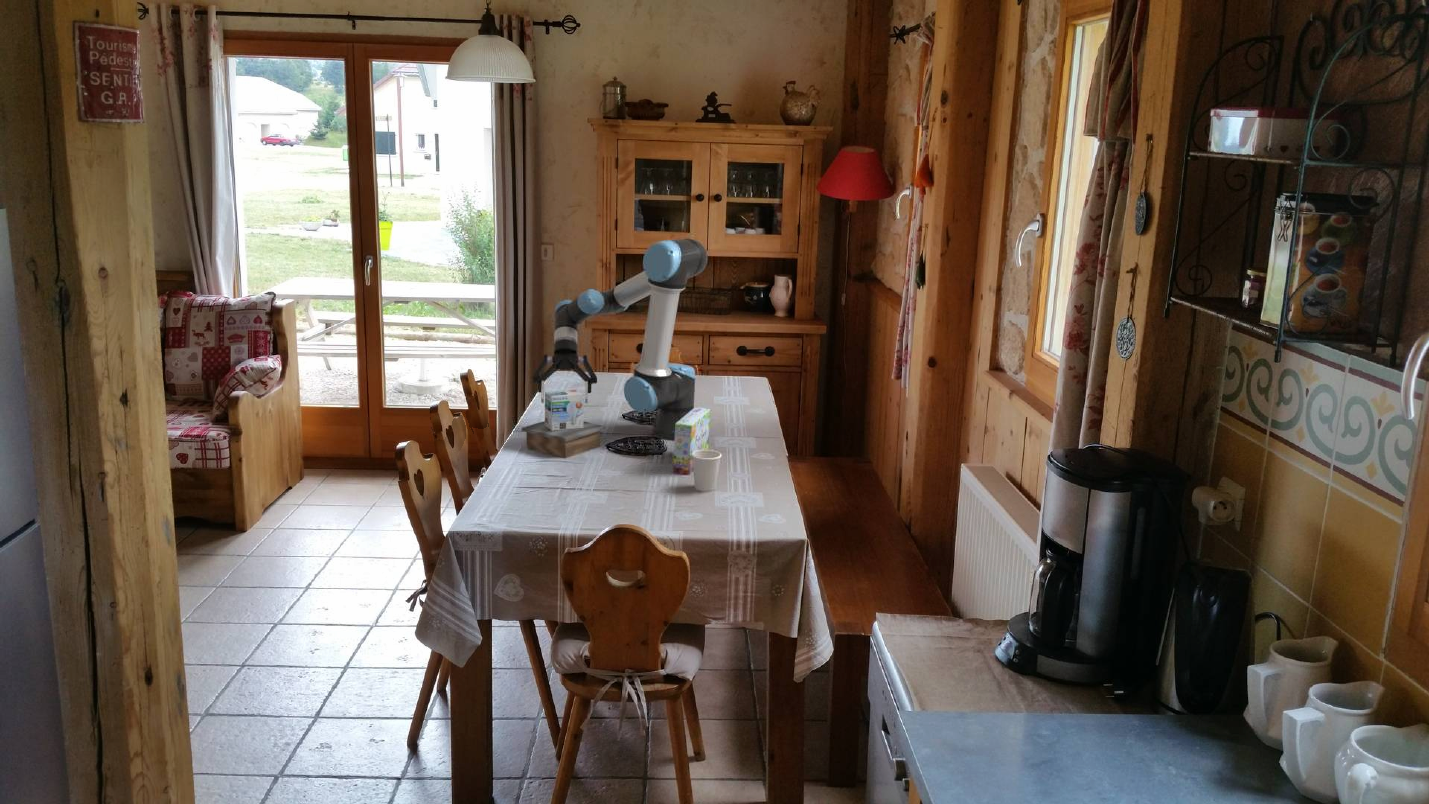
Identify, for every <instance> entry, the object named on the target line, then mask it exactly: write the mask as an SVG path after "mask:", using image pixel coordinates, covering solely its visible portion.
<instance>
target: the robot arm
mask: <svg viewBox="0 0 1429 804" xmlns="http://www.w3.org/2000/svg"><path fill="white" fill-rule="evenodd" d="M643 255H644V256H643V258H642V259H643V260H642V267H643V271H641V272H640V273H638V274H636V275H634V276H632V277H631V278H628V279H626V280H625V281H623V282H621V283H620V284H617V286H614V287H612V288H610V289H608V290H604V291H599V290H595V289H594V288H589V289H587V290H585V291H583V292H582V293H580V294H579V295H578V296H577V297H576V298H575V299H573V300H571V299H564V300H563V301H562V300H560V301H558V302H557V304H556V305H555V307H554V309H555V311H554V333H553V334H554V335H553V343H554V344H553V355H552V356H548V354H544V355H543V358H542V361H541V362H540V365H539V366H538V368H537V369H536V371H535V372H534V374H533V375H532V383H533V384H537V393H541V394H540V401H541V403H542V404H545V382H546V381H547V380H548V379H549V378H550V377H551V376H552V375H553V374H554V373H556V372H557V371H559V370H560V371H571V370H572V371H573V372H574V373H576V374H577V375H578V377H580V378H581V379H582V380H583V381H584V383H585V385H584V386H585V387H584V389H585V390H584V392H585V393H584V396H585V397H584V404H588V398H589V397H588V396H589V394H591V393H592V385H593V384H597V383H598V377H597V375H596V373H595V372H594V370H593V368H592V367H591V366H592V365H590V363H589V360H588V357H587V355H586V354H585V355H583V356H578V341H579V340H578V337H579V336H578V332H579V331H578V330H579V325H581V324H582V323H584V322H585V321H587V320H589V318H591V317H599V316H604V315H609V314H619V313H621V312H625V311H626V310H627V309H628V308H629V307H630V305H633V304H634V303H636V302H638V301H640V300H642V299H644V298H646V297H648V296H650V299H649V303H648V310H647V316H646V324H645V329H644V330H645V331H644V337H643V344H642V350H641V357H640V361H639V362H638V363H636V364H635V365H634V369H633V374H632V375H633V376H631V377H629V378H628V379H626V381H625V383H624V385H623V394H624V398H625V401H626V402H627V403H628V405H629V407H630V408H631V409H632V410H634V411H635V412H638V413H642V414H643V413H651V412H654V411H655V410H656V411H657V413H656V416H655V417H654V420H653V421H654V422H653V425H652V427H651V428H652V430H651V431H652V432H651V434H652V435H653V436H654V437H656V438H660V439H665V440H671V441H672V440H673V441H674V440H675V424H676V423H677V422H678V421H679V420H680V419H682V418H683V417H684V416H685V415H686V414H688V413H689V412H690V411H691V410H692V409H694V408H695V392H696V389H695V387H696V370H695V368H694V367H692V366H691V365H687V364H682V363H672V362H669V360H670V353H671V348H672V342H673V336H674V330H675V324H676V317H677V312H678V305H679V300H680V299H679V298H680V293H681V292H682V291H684V290H685V289H686V287H687V282H688V279H690V278H692V277H695V276H698V275H700V274H701V273H702V272H703V271H705V269H706V267H707V263H708V253H707V250H706V248H705V246H704V244H702V243H701V242H699V240H696V239H694V238H680V239H679V238H678V239H664V240H660V241H657V242H654V243H653V244H651V245H649V247H648V248H647V250H646V251H645V253H644V254H643ZM550 362H552V365H551V366H549V368H548V369H546V368H547V365H549V364H550ZM579 362H580V364H581V365H583V367H584V369H585V371H586V372H587V373H586V372H585V371H584V370H583V369H582V368H581V367H580V366H579V364H578V363H579ZM543 372H544V373H543Z"/></svg>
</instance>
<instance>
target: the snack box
mask: <svg viewBox="0 0 1429 804" xmlns="http://www.w3.org/2000/svg"><path fill="white" fill-rule="evenodd" d="M710 420H711V409H710V408H704V407H694V409H692V410H691V411H690V412H689V413H688V414H686V415H685V416H684V417H683V418H682V419H680V420H679V421H678V422H677V423H676V424H675V440H673V441H674V446H673V464H672V473H674V474H680V475H685V476H688V475H690V474H691V473H692V472H693V461H692V456H691V454H692V452H694V451H697V450H709V440H710V439H709V438H710V437H709V436H710Z"/></svg>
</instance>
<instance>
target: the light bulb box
mask: <svg viewBox="0 0 1429 804" xmlns="http://www.w3.org/2000/svg"><path fill="white" fill-rule="evenodd" d="M584 396H585V393H582V392H580V391H579V390H578V389H569V390H568V389H567V390H557V391H544V421H545V426H546V427H547V428H549V429H550V430H551V431H555V430H566V429H577V428H583V421H584V414H585V413H584V405H585V397H584Z"/></svg>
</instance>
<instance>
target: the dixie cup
mask: <svg viewBox="0 0 1429 804" xmlns="http://www.w3.org/2000/svg"><path fill="white" fill-rule="evenodd" d="M691 456H692V461H693V471H692V472H693V479H694V489H695V490H696V491H699V492H703V493H707V492H708V493H709V492H714V491H715V490H716V487H717V482H718V481H717V480H718V476H719V474H718V473H719V468H720V463H721V458H722V453H721V452H719V451H716V450H712V449H708V450H697V451H694V452H692V454H691Z"/></svg>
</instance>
